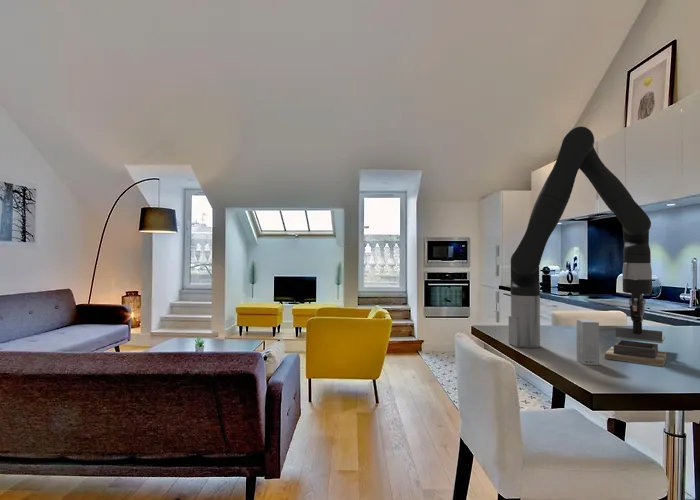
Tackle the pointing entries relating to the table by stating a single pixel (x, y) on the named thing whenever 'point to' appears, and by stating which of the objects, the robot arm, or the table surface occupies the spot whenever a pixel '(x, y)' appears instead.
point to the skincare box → (588, 342)
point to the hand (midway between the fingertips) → (637, 333)
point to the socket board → (636, 353)
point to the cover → (639, 335)
